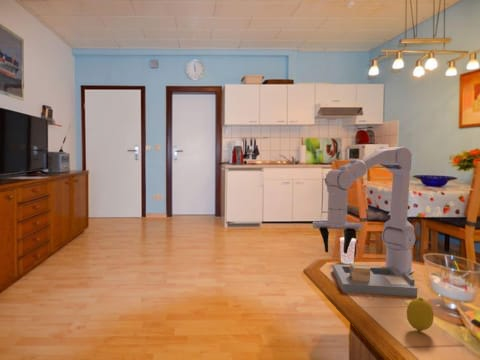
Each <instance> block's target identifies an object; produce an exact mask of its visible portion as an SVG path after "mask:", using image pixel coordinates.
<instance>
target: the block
mask: <svg viewBox="0 0 480 360" xmlns="http://www.w3.org/2000/svg"><path fill="white" fill-rule="evenodd" d="M349 265H350V277H351V278H352V280H353V281H369V282H370V267H369V266H370V265H368V264H367V263H360V262H359V263H358V262H357V263H356V262H353V263H350V264H349Z"/></svg>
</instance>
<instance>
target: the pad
mask: <svg viewBox="0 0 480 360" xmlns="http://www.w3.org/2000/svg"><path fill="white" fill-rule="evenodd" d="M385 277H386V278H387V279H388V280H389V282H390V283H391V284H405V285H411V284H409V283H408V282H407V281H406V280H405V279H404V278H403V277H392V276H385Z"/></svg>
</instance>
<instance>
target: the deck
mask: <svg viewBox="0 0 480 360" xmlns="http://www.w3.org/2000/svg"><path fill="white" fill-rule="evenodd" d="M368 266H369V267H370V282H369V281H353V280H352V278H351V277H350V264H336V263H333V264H332V273H333V275H334V277H335V279H336V280H337V282H338V286H339V287H340V289H341V291H342V293H347V292H348V293H350V294H368V295H385V296H386V295H388V296H401V297H403V296H404V297H418V287H417V286H416V285H415V279H414V278H413V276H411V274H407V273H404V272H403V274H402V273H401V272H400V271H399V270H398V269H397V268H393V267H386V266H379V265H378V266H375V265H368ZM385 276H392V277H403V278H404V279H405V280H406V281H407V282H408V283H409V284H411V285H405V284H391V283H390V282H389V280H388V279H387V278H386V277H385ZM348 293H347V294H348Z"/></svg>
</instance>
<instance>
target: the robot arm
mask: <svg viewBox="0 0 480 360" xmlns="http://www.w3.org/2000/svg"><path fill="white" fill-rule="evenodd" d="M412 156H413V153H412V152H411V151H410V149H409V148H408V147H407V146H399V147H398V146H396V147H395V146H394V147H393V146H391V147H388V146H387V147H385V146H380V147H379V148H376V149H375V150H374V151H373V152H371V154H369V155H368V156H367V155H366V157H364V158H363V159H355V158H353V159H350V160H349V163H346V164H345V165H340V166H339V168H337V169H331V170H330V171H328V172H327V173H326V177H325V178H324V184H325V186H326V191H327V193H328V196H327V197H328V198H327V220H326V221H325V220H323V221H314V220H313V221H312V229H314V230H315V229H318V230H319V232H320V235H321V238H322V241H323V244H324V252H325V253H329V234H330V232H329V230H343V237H344V253H347V250H348V247H349V244H350V242H351V240H352V238H354V237H355V235H356V231H362V229H363V227H362V226H363V224H362V223H359V222H348V221H347V220H348V218H347V217H348V198H349V197H348V195H349V191H348V189H350V188H351V187H352V186H353V183H354V182H356V181H358V179H359V180H360V178H362V177H364V176H365V175H366V174H367V171H368V170H369V169H371V168H374V167H376V166H378V165H379V166H381V167H383V168H384V169H386V170H388V171H389V172H390V173H391V174H392V182H391V183H392V184H391V204H390V218H389V220H386V222H384V223H383V229H382V233H381V240H382V242H383V243H384V246H386V248H385V249H386V253H385V255H386V256H385V267H393V268H397V269H398V270H399V271H400V272H401V273H402V274H403V272H404V273H407V274H408V275H411V273H414V272H415V270H414V269H412V266H413V265H412V263H413V262H412V260H413V253H412V250H411V249H412V248H413V247H414V245H415V243H416V235H415V227H414V225H413V224H411V223H410V221H408V207H409V194H410V177H411V175H410V174H411V169H412Z"/></svg>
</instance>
